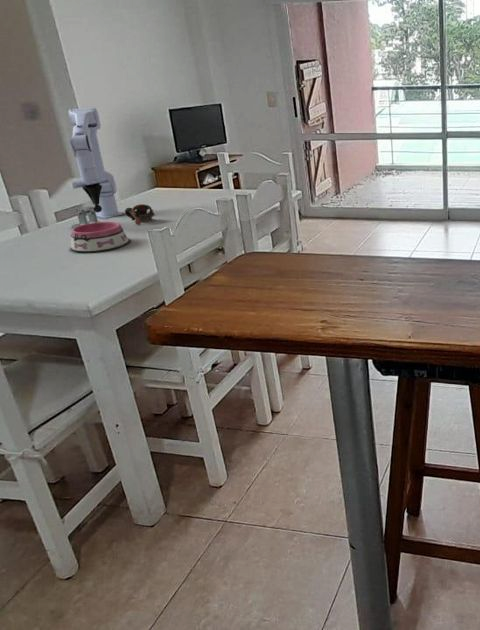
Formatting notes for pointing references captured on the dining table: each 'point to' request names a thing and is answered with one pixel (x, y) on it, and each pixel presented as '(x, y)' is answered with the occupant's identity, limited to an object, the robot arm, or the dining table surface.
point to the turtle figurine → (139, 213)
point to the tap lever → (96, 208)
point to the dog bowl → (98, 237)
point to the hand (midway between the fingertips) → (96, 204)
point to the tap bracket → (83, 217)
